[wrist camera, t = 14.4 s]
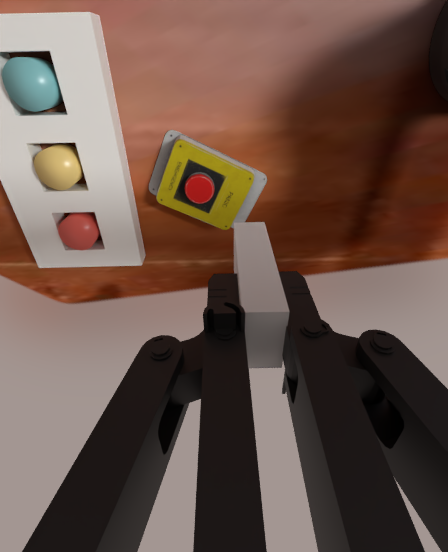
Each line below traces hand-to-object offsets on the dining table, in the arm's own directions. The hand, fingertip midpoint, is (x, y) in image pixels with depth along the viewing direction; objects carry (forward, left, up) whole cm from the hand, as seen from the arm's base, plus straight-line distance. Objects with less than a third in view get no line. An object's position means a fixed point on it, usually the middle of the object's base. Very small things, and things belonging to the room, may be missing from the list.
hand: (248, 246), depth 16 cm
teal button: (+22, -6, -29) cm, 37 cm away
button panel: (+22, +3, -29) cm, 37 cm away
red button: (+22, +12, -29) cm, 38 cm away
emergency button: (+3, +6, -30) cm, 31 cm away
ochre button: (+22, +3, -29) cm, 36 cm away
